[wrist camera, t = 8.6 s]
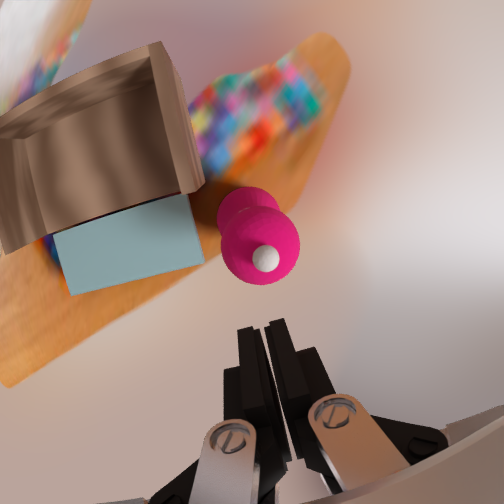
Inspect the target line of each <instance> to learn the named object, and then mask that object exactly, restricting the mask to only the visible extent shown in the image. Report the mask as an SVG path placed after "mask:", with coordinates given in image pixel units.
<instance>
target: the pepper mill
mask: <svg viewBox="0 0 504 504" xmlns="http://www.w3.org/2000/svg"><path fill="white" fill-rule="evenodd" d="M217 225H218V229H219V231H220V234H221V236H222V239H221V252H222V257H223V259H224V262H225V264H226V266H227V267H228V269H229V270H230V271H231V272H232V273H233V274H234V275H235V276H237V278H239V279H240V280H242V281H244V282H246V283H250V284H255V285H266V284H271V283H274V282H276V281H279V280H280V279H282V278H283V277H285V276H286V275H287V274H288V273H289V272H290V271H291V270H292V268H293V267H294V266H295V263H296V261H297V259H298V256H299V250H300V241H299V235H298V232H297V230H296V228H295V226H294V224H293V223H292V221H291V220H290V219H289V218H288V217H287V216H286V215H285V214H283V213H282V212H281V211H280V209H279V206H278V204H277V202H276V201H275V199H274V198H273V197H272V196H271V195H270V194H269V193H267V192H266V191H264V190H262V189H260V188H256V187H242V188H239V189H236V190H234V191H232V192H231V193H229V194H228V195H227V196H226V197H225V198H224V199H223V201H222V202H221V204H220V206H219V209H218V212H217Z"/></svg>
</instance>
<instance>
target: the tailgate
mask: <svg viewBox="0 0 504 504" xmlns="http://www.w3.org/2000/svg"><path fill="white" fill-rule="evenodd" d="M53 238H54V241H55V245H56V249H57V252H58V256H59V259H60V263H61V266H62V269H63V273H64V276H65V279H66V282H67V285H68V288H69V291H70V294H71V296H73V295H77V294H81V293H85V292H89V291H93V290H97V289H101V288H106V287H110V286H114V285H118V284H122V283H126V282H130V281H134V280H138V279H142V278H146V277H150V276H154V275H158V274H162V273H166V272H170V271H174V270H178V269H182V268H186V267H190V266H194V265H198V264H202V263H204V262H205V259H204V255H203V251H202V248H201V244H200V240H199V236H198V233H197V229H196V225H195V221H194V217H193V213H192V209H191V205H190V201H189V197H188V194H184V195H182V194H178V195H174V196H171V197H167V198H164V199H161V200H157V201H154V202H150V203H147V204H144V205H140V206H137V207H134V208H131V209H127V210H124V211H121V212H118V213H115V214H112V215H109V216H106V217H103V218H100V219H97V220H94V221H91V222H88V223H85V224H82V225H79V226H76V227H74V228H71V229H68V230H65V231H62V232H60V233H57V234H54V235H53Z"/></svg>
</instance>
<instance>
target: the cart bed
mask: <svg viewBox="0 0 504 504" xmlns="http://www.w3.org/2000/svg"><path fill="white" fill-rule="evenodd" d="M204 183H205V178H204V174H203V170H202V166H201V162H200V157H199V153H198V149H197V145H196V141H195V137H194V133H193V129H192V125H191V120H190V116H189V112H188V108H187V103H186V99H185V95H184V90H183V86H182V82H181V78H180V76H179V74H178V72H177V70H176V68H175V67H174V65H173V63H172V61H171V59H170V57H169V55H168V53H167V52H166V50H165V48H164V46H163V44H162V42H161V41H159V42H156V43H152V44H150V45H146V46H143V47H140V48H137V49H135V50H132V51H129V52H127V53H124V54H121V55H118V56H116V57H114V58H111V59H108V60H106V61H103V62H101V63H99V64H97V65H94V66H92V67H90V68H87V69H85V70H83V71H81V72H79V73H76V74H75V75H72V76H70V77H68V78H66V79H64V80H62V81H60V82H58V83H57V84H55V85H53V86H51V87H49V88H47V89H45V90H43V91H42V92H40V93H38V94H36V95H35V96H33V97H31V98H30V99H28V100H26V101H25V102H23V103H21V104H20V105H18V106H16V107H15V108H13V109H12V110H10V111H9V112H7V113H6V114H4V115H3V116H1V117H0V240H1V243H2V246H3V249H4V252H5V255H7V254H9V253H12V252H14V251H16V250H18V249H20V248H22V247H23V246H25V245H27V244H29V243H31V242H33V241H35V240H37V239H39V238H41V237H43V236H45V235H48V234H50V233H53V232H55V231H58V230H61V229H64V228H66V227H69V226H72V225H75V224H77V223H80V222H83V221H86V220H89V219H92V218H95V217H98V216H101V215H104V214H107V213H110V212H113V211H116V210H119V209H122V208H125V207H128V206H131V205H135V204H138V203H141V202H144V201H148V200H151V199H154V198H158V197H161V196H165V195H168V194H172V193H175V192H179V191H181V194H182V195H184V194H188V193H192V192H196V191H197V190H198V189H199V188H200V187H201V186H202V185H203V184H204Z"/></svg>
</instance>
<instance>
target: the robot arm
mask: <svg viewBox="0 0 504 504" xmlns="http://www.w3.org/2000/svg"><path fill="white" fill-rule="evenodd" d="M1 249H2V243H1V240H0V256H1ZM269 324H270V326H267V327H264V330H265V334H266V339H267V343H268V348H269V353H270V357H271V362H272V366H273V371H274V375H275V380H276V384H277V388H276V385H275V381H274V378H273V375H272V371H271V367H270V364H269V360H268V357H267V353H266V350H265V346H264V343H263V340H262V336H261V333H260V329H256V330H254V329H253V327H252V326H251V327H247V328H243V329H239V330H237V332H238V349H239V364H240V366H237V367H233V368H229V369H224V421H223V422H221V423H218V424H216V425H215V426H213V427H212V428H211V429H210V430H209V431H208V433H207V434H206V436H205V438H204V442H203V447H202V450H201V455H200V458H199V459H198V460H197V461H195V462H194V463H193V464H192V465H191V466H189V467H188V468H187V469H186V470H184V471H183V472H182V473H181V474H180V475H178V476H177V477H176V478H175V479H173V480H172V481H171V482H170V483H168V484H167V485H166V486H164V487H163V488H162V489H160V490H159V491H158V492H157V493H155V494H154V495H153V496H152V497H151V499H148V500H145V499H144V498H137V499H131V500H124V501H117V502H108V503H99V504H279V484H278V481H279V480H280V479H281V478H282V477H283V476H284V475H285V473H286V471H288V469H287V465H286V462H290V461H292V457H291V452H290V448H289V443H288V439H287V434H286V430H285V425H284V421H283V416H282V411H281V406H280V402H279V398H280V401H281V405H282V409H283V412H284V416H285V419H286V423H287V426H288V429H289V432H290V436H291V439H292V443H293V446H294V449H295V452H296V456H297V459H302V458H304V459H305V463H306V467H307V468H309V469H311V470H313V471H316V472H319V473H320V476H321V478H322V480H323V482H324V484H325V486H326V488H327V489H328V492H329V493H330V495H331V496H328V497H325V498H321V499H318V500H314V501H310V502H306V503H302V504H504V405H501V406H497V407H494V408H492V409H489V410H487V411H484V412H481V413H479V414H476V415H474V416H471V417H468V418H465V419H462V420H459V421H456V422H453V423H450V424H447V425H446V426H445V428H444V429H441V430H438V429H434V428H431V427H426V426H420V425H415V424H410V423H405V422H400V421H395V420H390V419H386V418H381V417H377V416H373V415H369V413H368V412H367V411H366V410H365V408H364V407H363V406H362V404H361V403H360V402H359V401H358V400H357V399H356V398H354V397H352V396H350V395H347V394H336V392H335V390H334V388H333V386H332V383H331V381H330V379H329V377H328V374H327V372H326V370H325V368H324V365H323V363H322V361H321V359H320V357H319V354H318V352H317V350H316V348H315V347H311V348H307V349H304V350H300V351H297V352H296V351H295V349H294V346H293V343H292V340H291V337H290V335H289V331H288V329H287V326H286V323H285V320H284V318H282V319H278V320H274V321H271V322H269ZM277 389H278V393H279V397H278V393H277Z"/></svg>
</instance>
